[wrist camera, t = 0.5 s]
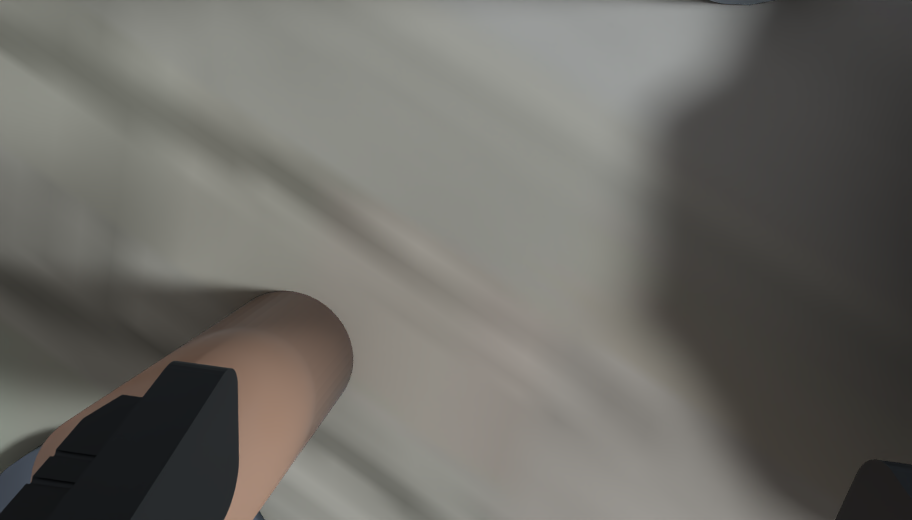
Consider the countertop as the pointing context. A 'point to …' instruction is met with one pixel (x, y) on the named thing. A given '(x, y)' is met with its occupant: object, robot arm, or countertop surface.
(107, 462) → the robot arm
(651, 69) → the countertop surface
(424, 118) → the countertop surface
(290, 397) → the canister
